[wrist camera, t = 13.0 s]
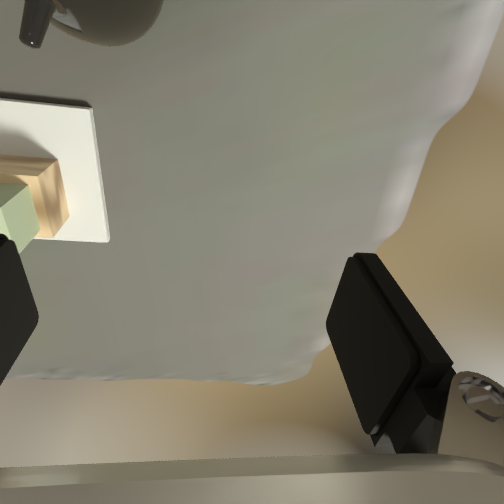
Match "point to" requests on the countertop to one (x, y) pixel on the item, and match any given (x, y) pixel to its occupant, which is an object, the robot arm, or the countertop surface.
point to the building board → (61, 159)
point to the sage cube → (18, 214)
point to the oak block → (39, 189)
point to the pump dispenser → (89, 20)
